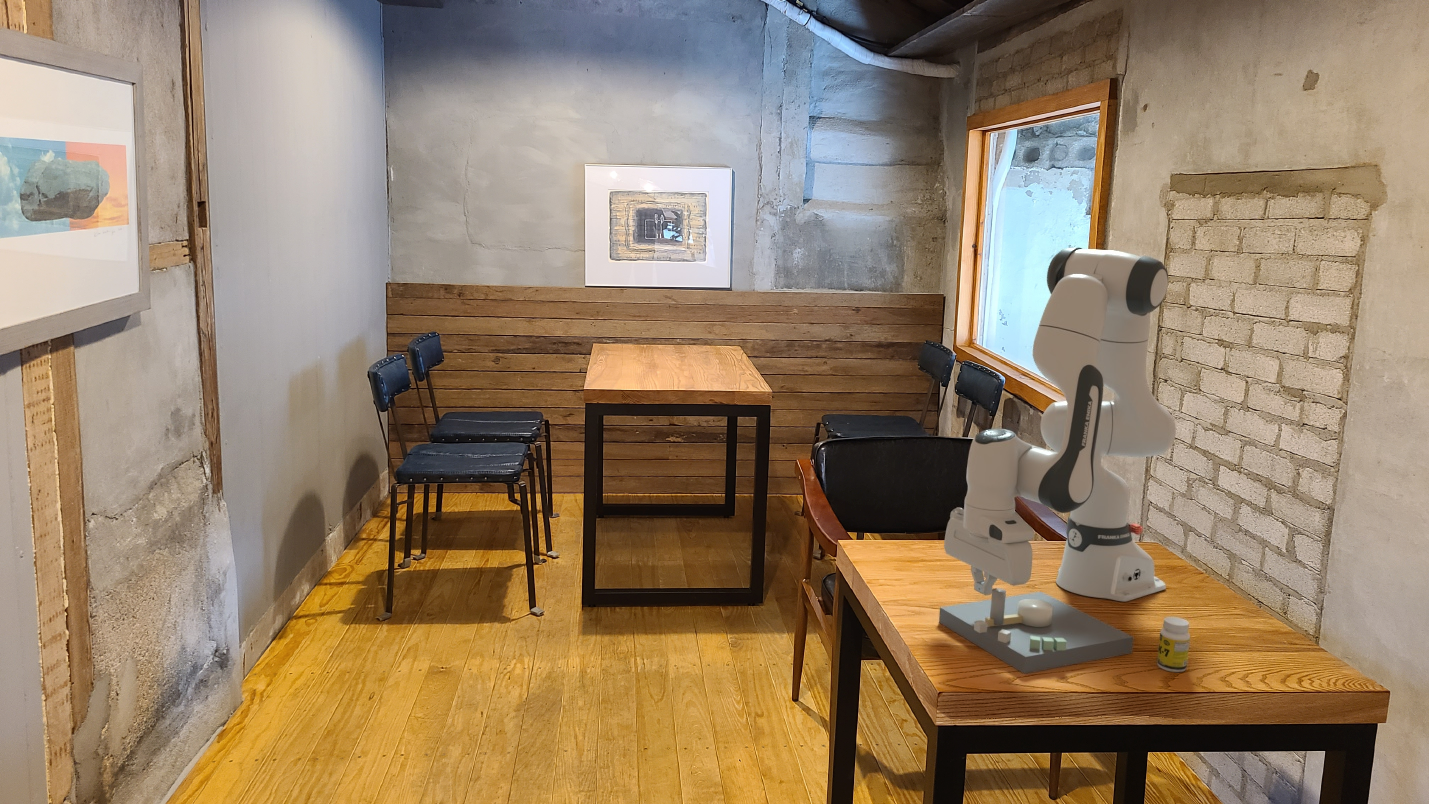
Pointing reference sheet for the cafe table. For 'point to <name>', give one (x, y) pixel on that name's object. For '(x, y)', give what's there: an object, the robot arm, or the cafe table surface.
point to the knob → (1019, 611)
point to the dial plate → (1037, 634)
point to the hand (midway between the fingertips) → (982, 592)
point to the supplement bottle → (1174, 645)
